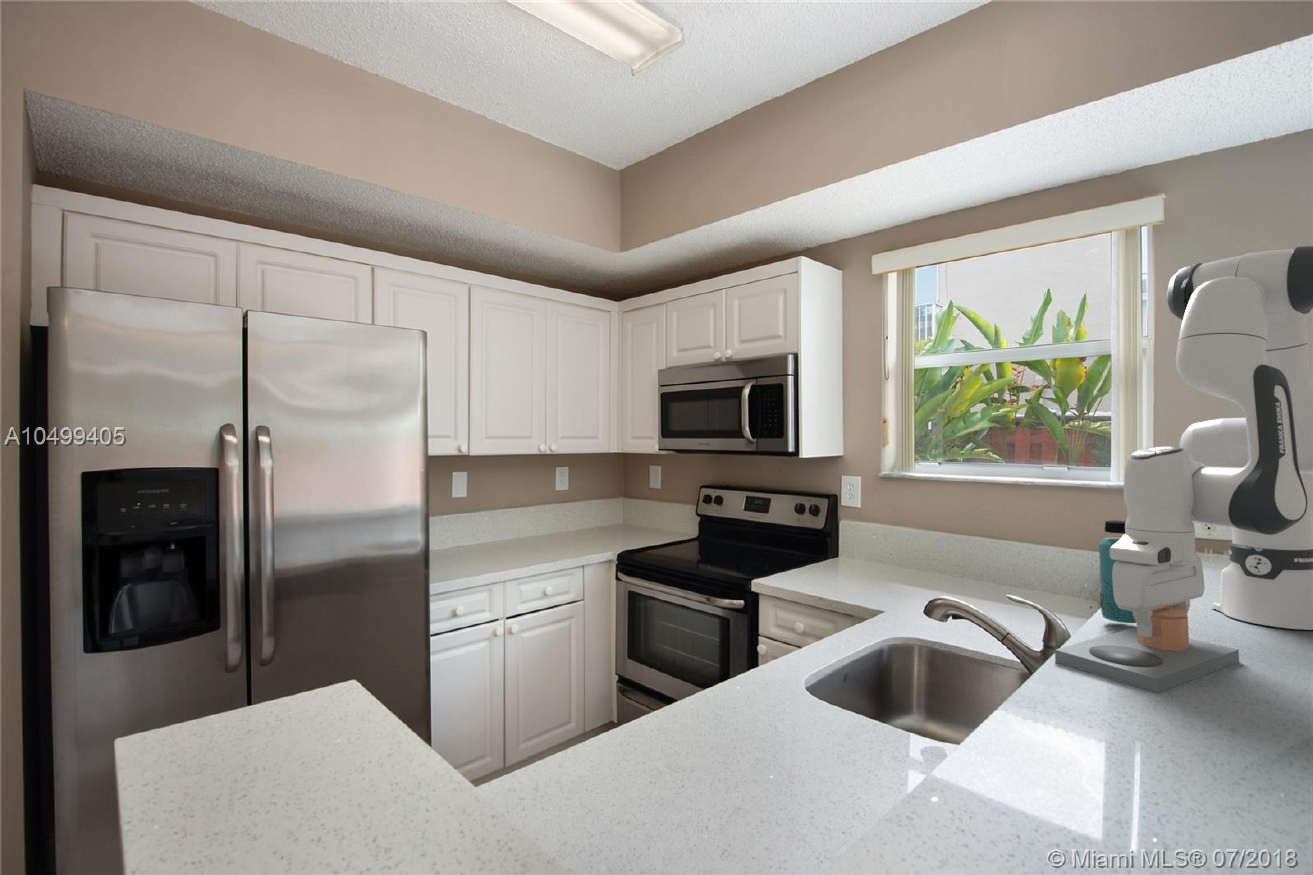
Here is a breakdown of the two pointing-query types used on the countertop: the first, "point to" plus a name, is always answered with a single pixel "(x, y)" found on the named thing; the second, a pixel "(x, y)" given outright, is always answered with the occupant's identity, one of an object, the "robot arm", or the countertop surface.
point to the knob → (1168, 629)
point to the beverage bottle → (1106, 578)
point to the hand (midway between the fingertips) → (1162, 631)
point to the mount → (1145, 660)
